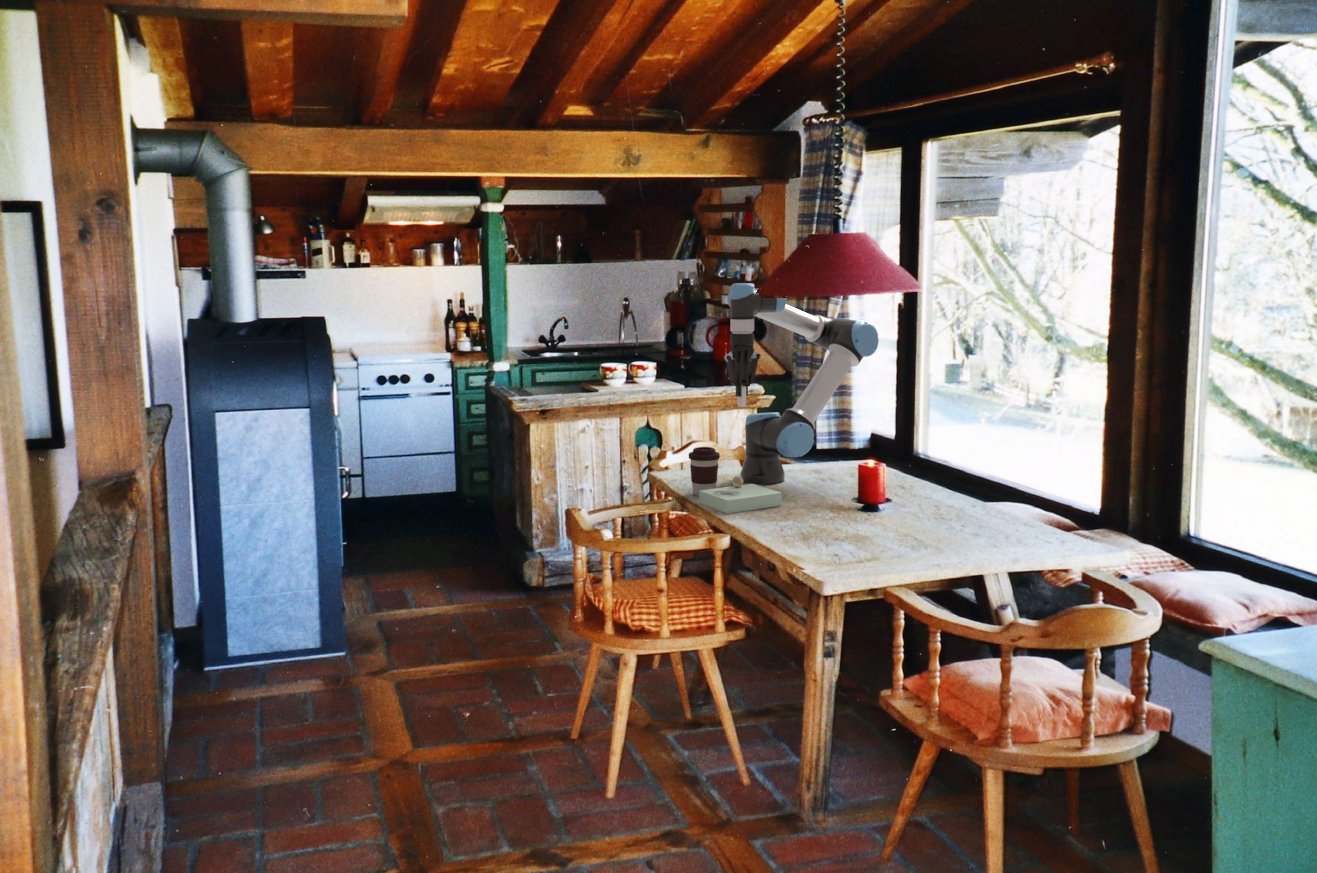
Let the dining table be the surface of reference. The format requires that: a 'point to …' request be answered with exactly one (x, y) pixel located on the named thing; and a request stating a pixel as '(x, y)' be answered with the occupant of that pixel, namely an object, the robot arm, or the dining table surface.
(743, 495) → the board
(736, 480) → the beech ball
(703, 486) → the coffee cup
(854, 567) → the dining table surface
